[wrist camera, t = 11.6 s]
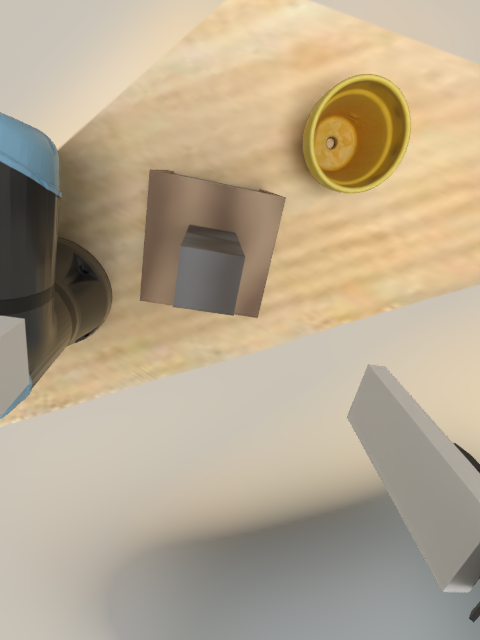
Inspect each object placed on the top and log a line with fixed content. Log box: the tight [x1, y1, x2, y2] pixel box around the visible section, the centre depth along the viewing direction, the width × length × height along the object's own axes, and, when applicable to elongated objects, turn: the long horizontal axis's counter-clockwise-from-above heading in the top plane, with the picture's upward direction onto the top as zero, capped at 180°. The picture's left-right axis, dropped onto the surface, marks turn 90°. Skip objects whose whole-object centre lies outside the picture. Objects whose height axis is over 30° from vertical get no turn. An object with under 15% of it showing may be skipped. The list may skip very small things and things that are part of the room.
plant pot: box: [303, 74, 411, 193], centre depth 37 cm, size 10×10×10 cm
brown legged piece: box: [140, 170, 286, 318], centre depth 34 cm, size 13×13×22 cm
